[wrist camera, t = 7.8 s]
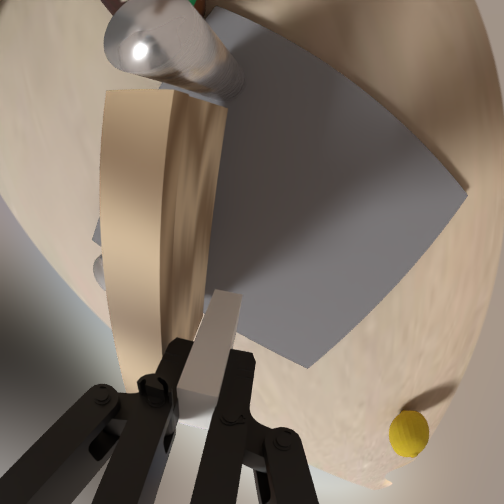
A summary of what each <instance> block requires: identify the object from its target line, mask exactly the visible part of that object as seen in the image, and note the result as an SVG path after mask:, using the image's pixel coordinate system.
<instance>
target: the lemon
mask: <svg viewBox="0 0 504 504" xmlns="http://www.w3.org/2000/svg"><path fill="white" fill-rule="evenodd" d="M428 439H429V427H428V423H427V421H426V419H425V418H424V416H423V415H422V414H421V413H419V412H417V411H406V410H403V411H401V413H400V414H399V415H398V416H397V417H396V418H395V419H394V420H393V421H392V423H391V425H390V429H389V440H390V443H391V445H392V447H393V449H394V451H395V452H396V453H397V454H398V455H400V456H403V457H412V458H414V457H416V456H417V455H418V454H419V453H420V452H421V451H422V450H423V449H424V448H425V446H426V445H427V443H428Z"/></svg>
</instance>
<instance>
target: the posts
mask: <svg viewBox="0 0 504 504" xmlns="http://www.w3.org/2000/svg"><path fill="white" fill-rule="evenodd" d="M104 51H105V54H106V57H107V59H108V60H109V62H110V63H111V64H112V65H113V66H114V67H115V68H117V69H119V70H121V71H124V72H128V73H132V74H135V75H139V76H143V77H146V78H150V79H153V80H157V81H160V82H163V83H167V84H170V85H173V86H176V87H179V88H182V89H185V90H188V91H191V92H194V93H197V94H199V95H202V96H205V97H208V98H210V99H213V100H216V101H221V102H225V101H230V100H233V99H235V98H236V97H238V96H239V95H240V94H241V93H242V91H243V90H244V87H245V84H246V76H245V73H244V71H243V70H242V68H241V67H240V66H239V64H238V63H237V61H236V60H235V59H234V57H233V56H232V55H231V53H230V52H229V51H228V49H227V48H226V47H225V45H224V44H223V43H222V41H221V40H220V39H219V37H218V36H217V35H216V34H215V32H214V31H213V30H212V29H211V27H210V26H209V25H208V24H207V22H206V21H205V20H204V19H203V17H202V16H201V15H200V14H199V13H198V11H197V10H196V9H195V8H194V7H193V5H192V4H191V3H190V2H189V1H188V0H129V1H127V2H126V3H125V4H124V5H123V6H122V7H120V8H119V10H118V11H117V12H116V13H115V14H114V16H113V17H112V19H111V20H110V22H109V24H108V26H107V29H106V32H105V36H104ZM93 272H94V276H95V279H96V281H97V282H98V284H99V285H100V287H101V288H102V289H103V290H105V291H106V287H105V278H104V269H103V258H102V254H101V255H100V256H99V257H98V258H97V259H96V260H95V262H94V265H93Z"/></svg>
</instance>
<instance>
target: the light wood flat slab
mask: <svg viewBox="0 0 504 504" xmlns="http://www.w3.org/2000/svg"><path fill="white" fill-rule="evenodd" d="M227 112H228V108H225V107H222V106H219V105H216V104H213V103H210V102H207V101H204V100H201V99H197V98H194V97H191V96H189V94H187V93H184V92H180V91H177V90H169V89H131V90H109V91H106V98H105V106H104V115H103V125H102V137H101V153H100V229H101V246H102V258H103V269H104V278H105V287H106V294H107V301H108V308H109V314H110V320H111V326H112V332H113V337H114V342H115V346H116V351H117V356H118V360H119V365H120V369H121V373H122V377H123V381H124V385H125V389H126V393H137V392H139V390H138V386H137V381H138V380H139V378H140V377H142V376H144V375H146V374H151V373H154V374H155V372H156V370H157V367H158V365H159V363H160V361H161V360H162V357H163V355H164V353H165V351H166V349H167V347H168V344H169V343H170V342H171V341H173V340H174V339H175V338H176V337H178V338H182V339H186V340H190V341H193V340H194V337H195V334H196V332H197V329H198V327H199V324H200V322H201V319H202V317H203V306H204V295H205V284H206V274H207V264H208V254H209V245H210V236H211V227H212V218H213V210H214V202H215V194H216V187H217V179H218V172H219V165H220V158H221V151H222V144H223V137H224V131H225V125H226V118H227Z"/></svg>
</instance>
